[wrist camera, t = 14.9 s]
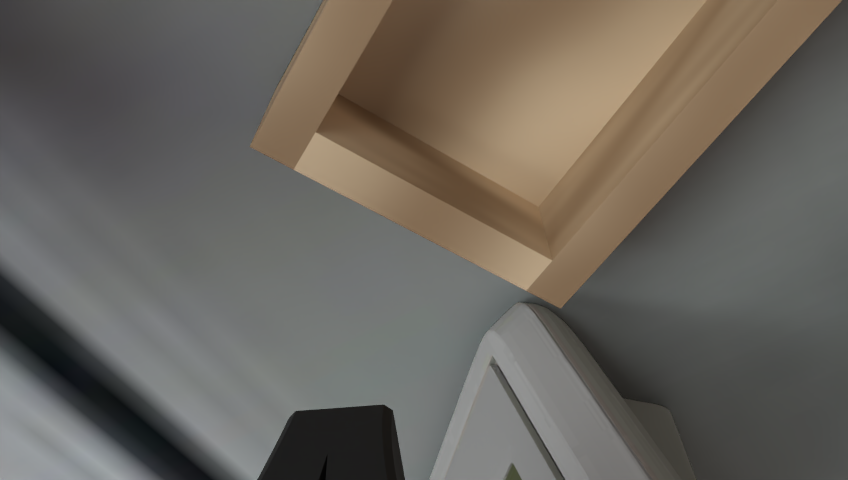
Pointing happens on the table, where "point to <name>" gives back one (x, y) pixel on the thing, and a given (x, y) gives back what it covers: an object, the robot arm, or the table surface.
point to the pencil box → (522, 115)
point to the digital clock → (552, 413)
